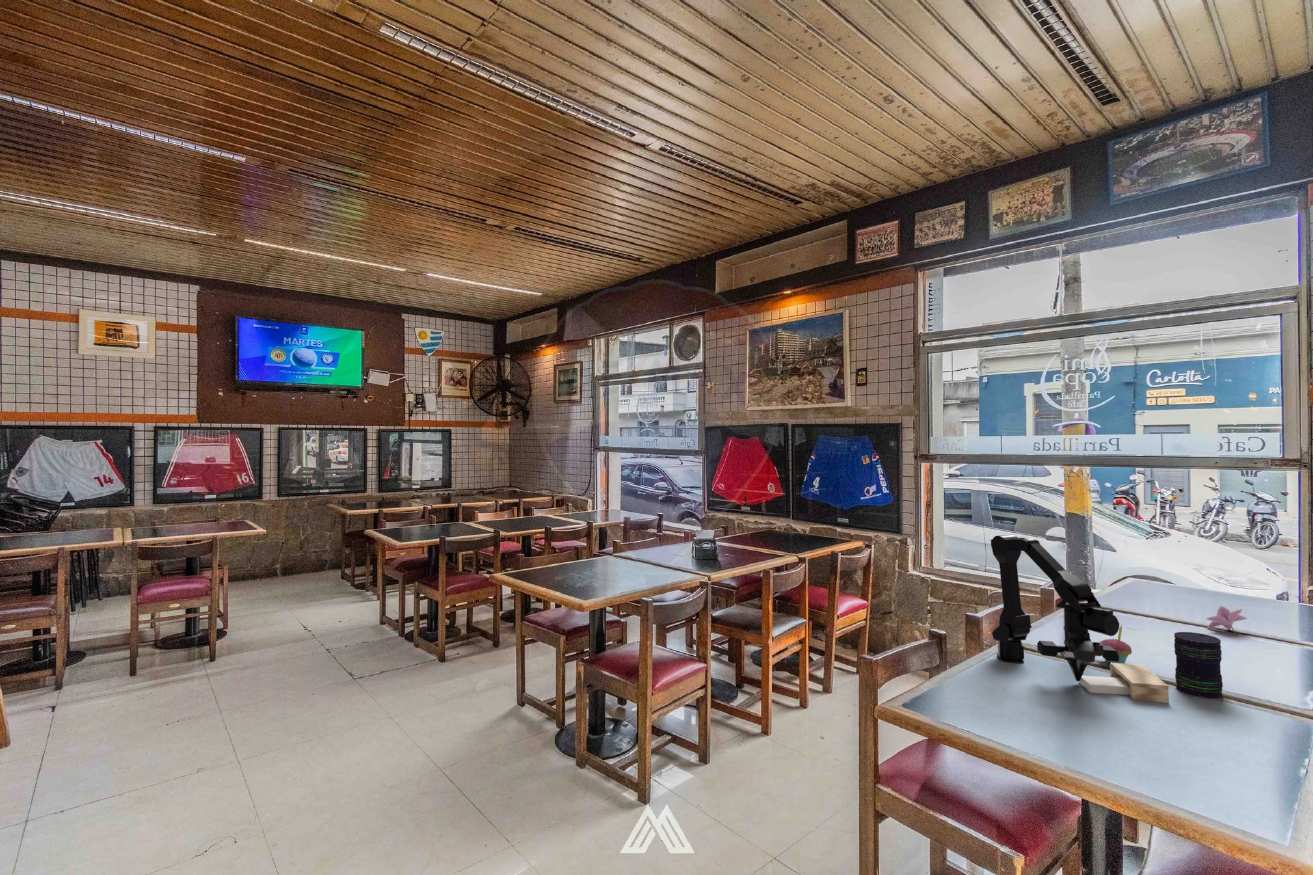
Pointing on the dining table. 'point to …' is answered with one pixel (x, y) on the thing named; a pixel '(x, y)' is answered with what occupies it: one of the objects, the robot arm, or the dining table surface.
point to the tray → (1105, 685)
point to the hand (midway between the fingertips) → (1077, 680)
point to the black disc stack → (1198, 665)
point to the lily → (1225, 618)
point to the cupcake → (1119, 647)
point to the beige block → (1141, 682)
